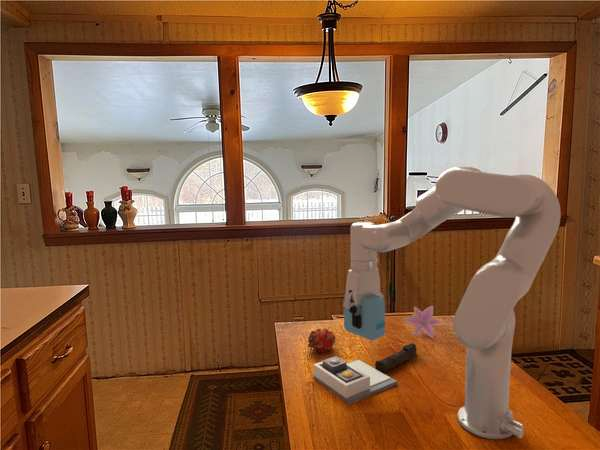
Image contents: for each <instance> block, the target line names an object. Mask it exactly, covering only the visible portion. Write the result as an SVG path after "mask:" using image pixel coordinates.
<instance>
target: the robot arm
mask: <svg viewBox="0 0 600 450" xmlns="http://www.w3.org/2000/svg"><path fill="white" fill-rule="evenodd" d="M464 210H465V211H470V212H476V213H480V214H485V215H488V216H489V215H490V216H495V217H500V218H515V219H514V221H513V223H512V225H511V227H510V229H509V230H508V231H507V234H506V235H505V238H504V241H503V242H502V244H501V246H500V249H499V250H498V252H497V254H496V255H495V257H494V258H493V259H492V260H491V261H489V262H487V263H485V264H484V265H482V266H481V267H480V268H478V269H477V271H476V272H475V274H474V275H473V277H471V279H470V282H469V284H468V286H467V288H466V291H465V292H464V294H463V296H462V299H461V301H460V302H459V305H458V307H457V309H456V311H455V314H454V317H453V321H452V322H453V323H452V325H453V332H454V334H455V336H456V338H457V340H458V341H459V343H461V344H462V345H463V346H464V347H466V353H465V354H466V358H465V359H466V360H465V387H464V392H465V393H464V406H462V407H460V408H459V409H458V412H457V420H458V422H459V424H460V425H461V427H463V428H464V430H466V431H467V432H470V433H471V434H473V435H475V436H478V437H482V438H484V439H485V438H486V439H490V440H503V439H507V438H510V437H511V436H515V437H517V438H519V439H522V438H523V436H524V427H525V426H524V424H523V423H521V422H520V421H516V420H515V419H514V412H513V410H510V409H509V406H510V405H509V404H510V401H509V399H510V383H511V381H510V380H511V366H512V365H511V364H512V363H511V361H512V349H513V340H514V335H515V334H514V333H515V328H516V314H515V311H514V308H515V306H516V304H517V303H518V301H519V300H521V299H522V298H523V297H524V296H526V294H527V293H528V292H529V290H531V289H530V288H531V287H532V285H533V282H534V280H535V278H536V276H537V273H538V271H540V268H541V266H542V264H543V262H544V260H545V258H546V256H547V254H548V251H549V250H550V248H551V246H552V244H553V241H554V240H555V237H556V235H557V233H558V231H559V227H560V223H561V215H562V214H561V205H560V202H559V198H558V197H557V194H556V192H555V191H554V190H553V189H552V187H551V186H550V185H549V184H548V183H547V182H546V181H544V180H543V179H542V178H540V177H537V176H534V175H531V174H514V175H509V174H500V173H492V172H490V173H489V172H485V171H484V172H483V171H481V170H480V169H479V168H476V167H473V166H456V167H451V168H447V170H444V171H443V172H442V173H441V174H440V175H439V176H438V178H437V180H436V182H435V185H434V186H432V187H431V188H430V189H428V190H427V191H425V192H424V193H422V194H421V195H419V196H418V197H417V198H416V200H415V207H414V208H413V209H412V210H411V211H410V212H408V213H406V214H405V215H404V216H401V218H399V219H397V220H395V221H391V222H387V223H386V222H385V223H381V224H376V223H374V222H370V221H357V222H354V223H352V224H351V225H350V269H348V273H347V276H346V282H345V294H346V300H345V302H344V301H343V304H342V306H343V308H344V307H345V308H346V309H348V310H349V311H350V313H352V326H354V327H356V328H358V329H360V328H361V315H359V313H360V308H361V305H363V304H364V298H366V297H370V296H374V295H377V296H381V297H382V298H383V299H384V298H385V297H384V294H383V293H382V292H381V277H380V271H379V268H378V263H379V259H378V253H386V252H390V251H393V250H396V249H400V248H403V247H406V246H407V245H410V244H411V243H413V242H415V241H416V240H418V239H420V238H422V237H423V236H425V235H426V234H427V233H429V232H431V231H432V230H433V229H435V228H437V226H439V225H441V224H442V223H444V222H445V221H447V220H448V219H450V218H452V217H454V216H455V215H457V214H459V213H460V212H462V211H464ZM351 302H352V305H350V304H351ZM355 306H356V310H355Z"/></svg>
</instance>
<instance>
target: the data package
mask: <svg viewBox="0 0 600 450" xmlns="http://www.w3.org/2000/svg"><path fill="white" fill-rule="evenodd" d="M345 300H346V293H345V294H344V295H343V303H344V302H345ZM350 305H352V302H351V304H350ZM355 310H356V306H355ZM359 315H361V328H360V329H358V328H356V327H354V326H352V313H350V311H349V310H348V309H346V308H345V307H344V306H343V326H344V329H345V331H347V332H348V333H351V334H353V335H355V336H359V337H361V338H364V339H366V340H369V341H375V340H378V339H379V338H381V337H383V336H385V334H386V301H385V299H384V298H382V297H381V296H377V295H374V296H370V297H366V298H364V304H363V305H361V308H360V313H359Z"/></svg>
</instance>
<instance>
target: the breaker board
mask: <svg viewBox="0 0 600 450" xmlns="http://www.w3.org/2000/svg"><path fill="white" fill-rule="evenodd" d="M347 369H350V370H352V371H354V372H355V373H357V374H358V375H360V378H359V379H356V380H354V381H351V382H348V383H345V382H344V381H342V380H341V379H339V378H338V377H336V376H335V375H333V374H332V373H330V372H329V371H327V370H326V369H324V368H323V360H322V361H320V362H317V363H314V364H313V375H312V378H313V380H315V381H316V382H318V383H319V384H321V385H322V386H324V387H325V388H326V389H327V390H329V391H330V392H331V393H333V394H335V395H336V396H337V397H339V398H340V399H341V400H343V401H344V402H345V403H347V404H349V405H351V404H354V403H357V402H359V401H361V400H363V399H366V398H369V397H370V396H373V395H375V394H377V393H380V392H382V391H385V390H387V389H390V388H391V387H394V386H397V385H398V381H397V380H396V379H394V378H392V377H391V376H389V375H387V374H386V373H385V374H384V373H382V372H380V371H378V370H376V369H375V367H373V366H371V365H369V364H367V363H366V362H363V360H360V359H358V358H357V359H355V360H352V361H348V362H347Z"/></svg>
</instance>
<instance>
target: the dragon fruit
mask: <svg viewBox="0 0 600 450" xmlns="http://www.w3.org/2000/svg"><path fill="white" fill-rule="evenodd" d="M307 341H308V344H307V346H308V348H310V350H311V351H312V352H316V353H318V354H319V353H320V352H322V353H325V354H327V353H328V351H331V350H332V349H333V346H334V345H335V343H336V342H337V341H336V336H335V334H334V332H333V331H329V329H328V328H323V329H321V328H317V329H316V330H311V332H310V333H309V336H308V337H307Z"/></svg>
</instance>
